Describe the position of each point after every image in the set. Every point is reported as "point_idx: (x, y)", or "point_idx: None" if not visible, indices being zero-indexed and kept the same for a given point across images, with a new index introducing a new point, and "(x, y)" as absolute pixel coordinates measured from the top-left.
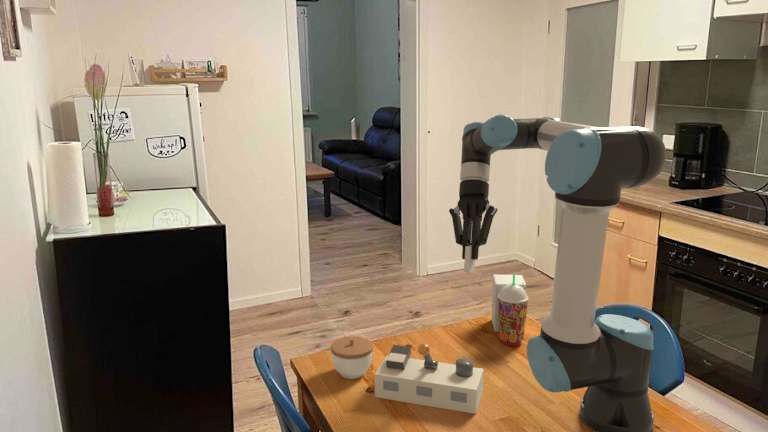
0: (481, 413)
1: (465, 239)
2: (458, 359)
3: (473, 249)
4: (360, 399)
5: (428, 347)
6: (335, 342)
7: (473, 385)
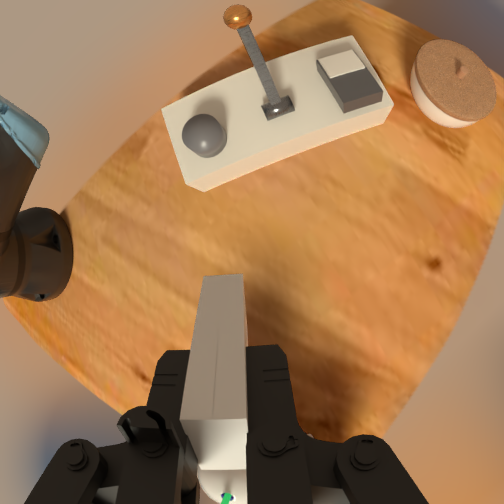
0: None
1: (258, 489)
2: (218, 133)
3: (171, 411)
4: (360, 44)
5: (224, 16)
6: (485, 70)
7: (172, 116)
